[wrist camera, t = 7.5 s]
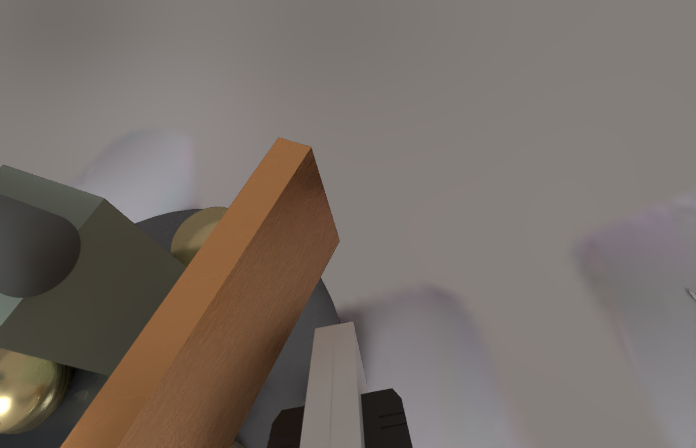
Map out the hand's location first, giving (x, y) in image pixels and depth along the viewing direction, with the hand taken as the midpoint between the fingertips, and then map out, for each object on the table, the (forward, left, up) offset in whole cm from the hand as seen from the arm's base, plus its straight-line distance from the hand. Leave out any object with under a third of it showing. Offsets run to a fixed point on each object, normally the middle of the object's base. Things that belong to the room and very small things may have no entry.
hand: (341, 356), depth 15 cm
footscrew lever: (-4, -2, -4) cm, 6 cm away
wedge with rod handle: (-13, -1, -5) cm, 14 cm away
